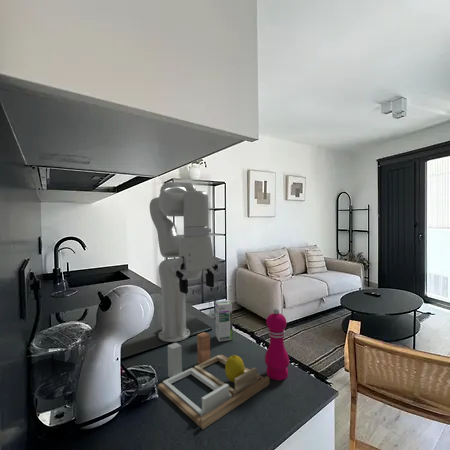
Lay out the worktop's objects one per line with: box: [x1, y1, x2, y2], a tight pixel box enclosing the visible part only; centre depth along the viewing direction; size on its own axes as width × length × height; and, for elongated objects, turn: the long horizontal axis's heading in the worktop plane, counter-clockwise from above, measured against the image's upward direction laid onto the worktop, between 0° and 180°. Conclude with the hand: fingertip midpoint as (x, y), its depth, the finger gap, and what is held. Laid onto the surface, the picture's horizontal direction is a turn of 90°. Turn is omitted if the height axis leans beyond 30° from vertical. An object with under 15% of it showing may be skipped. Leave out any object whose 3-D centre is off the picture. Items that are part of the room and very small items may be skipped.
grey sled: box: [162, 342, 232, 418], centre depth 73 cm, size 21×10×9 cm, turn 42°
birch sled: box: [193, 331, 260, 396], centre depth 81 cm, size 21×10×9 cm, turn 42°
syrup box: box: [214, 299, 234, 343], centre depth 106 cm, size 6×6×14 cm
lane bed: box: [157, 354, 270, 430], centre depth 75 cm, size 20×24×2 cm
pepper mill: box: [264, 308, 290, 381], centre depth 80 cm, size 7×7×20 cm
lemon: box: [224, 354, 245, 384], centre depth 77 cm, size 6×6×8 cm
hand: (197, 289), depth 80 cm, fingers open, 9 cm apart
